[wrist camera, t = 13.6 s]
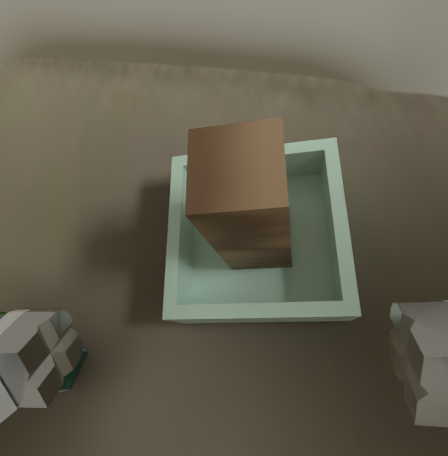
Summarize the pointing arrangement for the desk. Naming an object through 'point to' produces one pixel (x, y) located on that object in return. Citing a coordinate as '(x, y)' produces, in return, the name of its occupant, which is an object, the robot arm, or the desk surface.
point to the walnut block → (240, 192)
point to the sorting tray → (269, 277)
